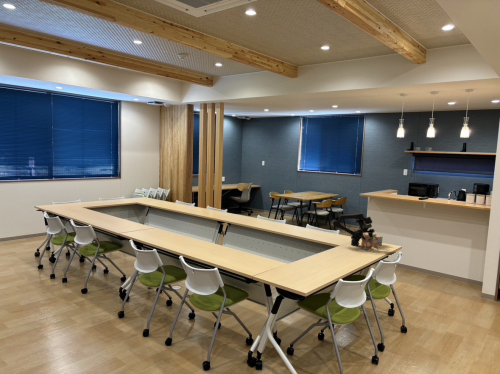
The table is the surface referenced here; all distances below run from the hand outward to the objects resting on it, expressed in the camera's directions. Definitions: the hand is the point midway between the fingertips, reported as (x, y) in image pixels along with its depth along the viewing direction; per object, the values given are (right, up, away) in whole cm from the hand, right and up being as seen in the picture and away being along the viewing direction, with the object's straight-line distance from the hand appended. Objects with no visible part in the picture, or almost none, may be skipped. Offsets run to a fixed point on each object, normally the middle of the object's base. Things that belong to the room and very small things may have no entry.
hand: (368, 239), depth 329 cm
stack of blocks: (+10, -9, +21) cm, 25 cm away
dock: (-1, -10, +3) cm, 11 cm away
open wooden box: (-1, -9, +2) cm, 9 cm away
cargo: (-1, -8, +2) cm, 8 cm away
